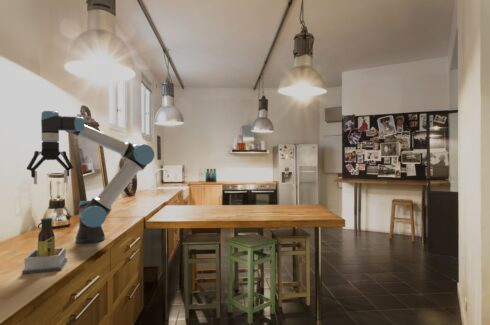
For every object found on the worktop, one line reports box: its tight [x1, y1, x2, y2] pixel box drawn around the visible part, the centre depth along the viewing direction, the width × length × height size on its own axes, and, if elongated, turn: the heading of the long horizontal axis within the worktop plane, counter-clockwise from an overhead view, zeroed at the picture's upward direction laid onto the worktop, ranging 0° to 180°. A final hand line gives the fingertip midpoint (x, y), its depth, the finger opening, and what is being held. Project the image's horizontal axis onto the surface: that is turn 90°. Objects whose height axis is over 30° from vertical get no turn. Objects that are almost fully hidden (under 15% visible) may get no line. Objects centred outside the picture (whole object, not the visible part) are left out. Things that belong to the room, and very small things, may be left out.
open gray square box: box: [21, 247, 69, 275], centre depth 138 cm, size 14×14×6 cm
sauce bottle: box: [37, 217, 56, 257], centre depth 138 cm, size 7×6×20 cm
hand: (51, 183), depth 162 cm, fingers open, 13 cm apart
